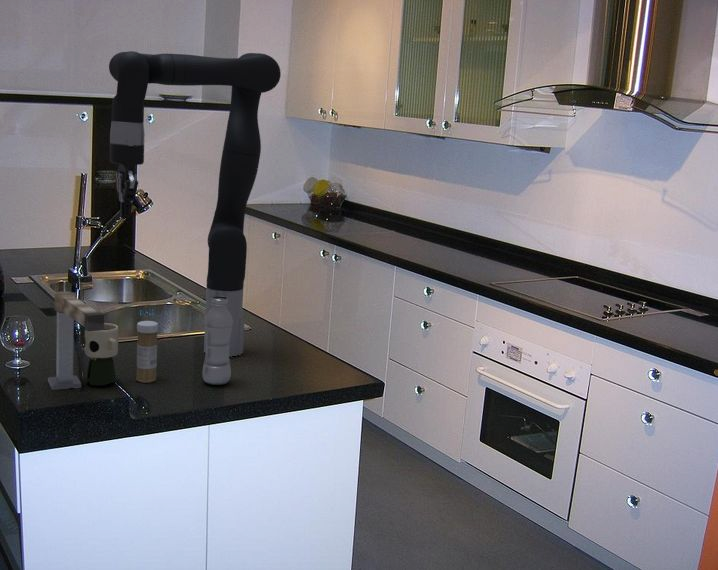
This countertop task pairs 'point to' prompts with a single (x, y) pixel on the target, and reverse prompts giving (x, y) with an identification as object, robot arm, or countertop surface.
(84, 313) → the swing arm
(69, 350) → the post
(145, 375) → the sprinkles bottle
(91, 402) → the countertop surface
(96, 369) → the character mug
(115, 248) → the countertop surface
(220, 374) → the plastic bottle
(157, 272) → the countertop surface
